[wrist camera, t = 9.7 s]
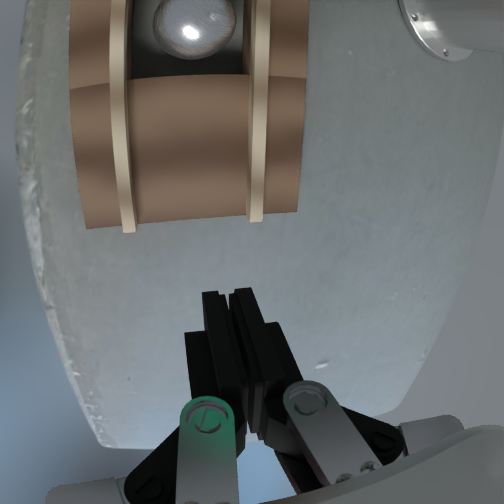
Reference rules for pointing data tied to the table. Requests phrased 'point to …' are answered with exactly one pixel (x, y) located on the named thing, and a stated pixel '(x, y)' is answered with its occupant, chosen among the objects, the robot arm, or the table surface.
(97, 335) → the table surface
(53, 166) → the table surface
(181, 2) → the steel ball
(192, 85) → the walnut board
